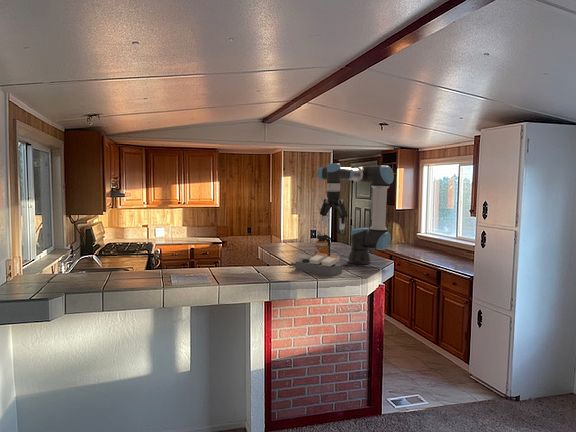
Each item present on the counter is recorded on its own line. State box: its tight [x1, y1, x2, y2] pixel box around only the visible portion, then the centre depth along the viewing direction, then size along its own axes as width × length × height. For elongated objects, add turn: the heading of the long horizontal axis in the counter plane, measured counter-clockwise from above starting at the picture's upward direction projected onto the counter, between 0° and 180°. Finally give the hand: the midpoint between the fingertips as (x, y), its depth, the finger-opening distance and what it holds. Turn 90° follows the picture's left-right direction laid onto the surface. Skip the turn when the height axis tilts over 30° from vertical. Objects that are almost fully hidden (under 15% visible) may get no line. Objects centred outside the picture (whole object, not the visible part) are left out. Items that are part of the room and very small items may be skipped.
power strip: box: [290, 258, 343, 277], centre depth 273 cm, size 11×35×6 cm, turn 49°
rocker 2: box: [309, 253, 327, 264], centre depth 270 cm, size 10×6×3 cm, turn 139°
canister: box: [314, 234, 332, 257], centre depth 288 cm, size 9×11×20 cm
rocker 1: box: [297, 252, 315, 259], centre depth 276 cm, size 10×6×3 cm, turn 140°
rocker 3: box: [321, 254, 341, 266], centre depth 264 cm, size 10×6×3 cm, turn 139°
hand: (333, 228), depth 253 cm, fingers open, 13 cm apart
